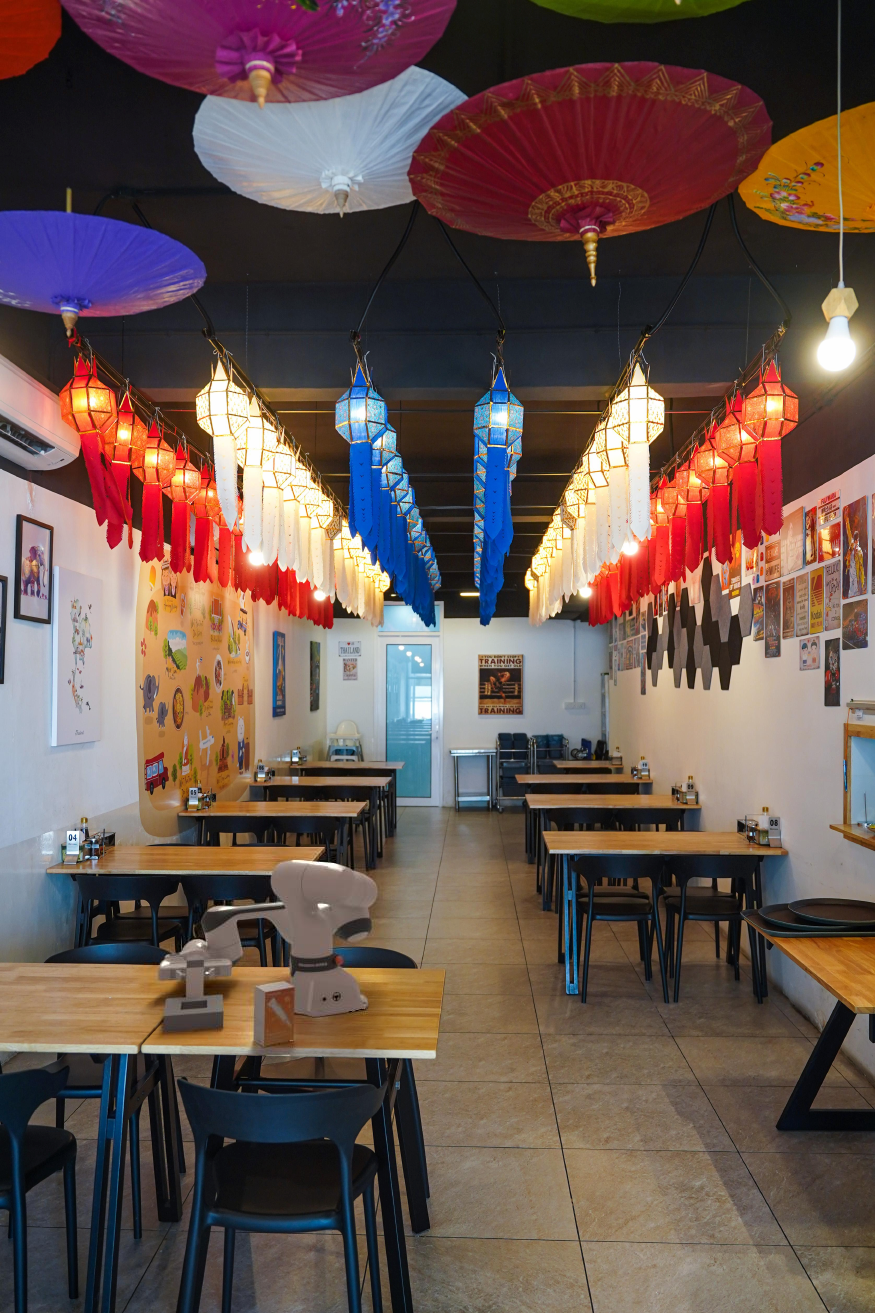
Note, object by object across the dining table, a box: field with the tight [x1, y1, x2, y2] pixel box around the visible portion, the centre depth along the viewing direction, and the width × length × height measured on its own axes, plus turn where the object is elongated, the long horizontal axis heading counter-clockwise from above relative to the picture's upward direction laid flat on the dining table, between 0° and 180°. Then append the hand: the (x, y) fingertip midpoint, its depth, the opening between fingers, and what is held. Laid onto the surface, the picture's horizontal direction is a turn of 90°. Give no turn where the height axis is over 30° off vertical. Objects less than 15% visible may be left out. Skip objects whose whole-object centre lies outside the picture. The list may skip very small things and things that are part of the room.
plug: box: [185, 956, 205, 997], centre depth 246 cm, size 5×5×12 cm
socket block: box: [162, 994, 225, 1033], centre depth 231 cm, size 15×15×4 cm
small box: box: [252, 980, 295, 1048], centre depth 216 cm, size 8×6×13 cm
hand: (195, 977), depth 246 cm, fingers open, 5 cm apart
